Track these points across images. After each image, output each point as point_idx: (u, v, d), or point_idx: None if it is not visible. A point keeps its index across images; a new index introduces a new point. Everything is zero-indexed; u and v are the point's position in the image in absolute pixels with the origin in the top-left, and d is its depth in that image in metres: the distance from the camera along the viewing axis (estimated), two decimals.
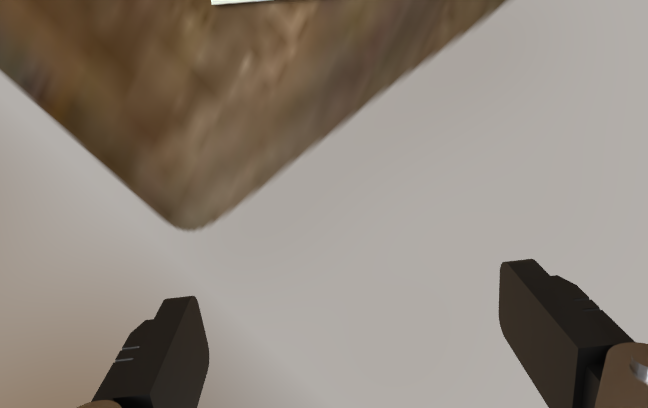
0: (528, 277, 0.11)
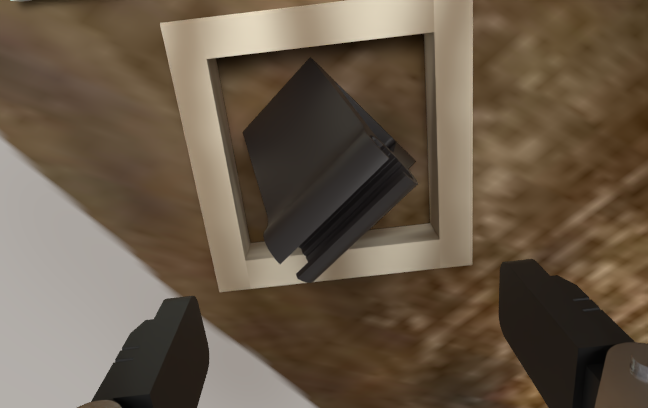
0: (528, 277, 0.11)
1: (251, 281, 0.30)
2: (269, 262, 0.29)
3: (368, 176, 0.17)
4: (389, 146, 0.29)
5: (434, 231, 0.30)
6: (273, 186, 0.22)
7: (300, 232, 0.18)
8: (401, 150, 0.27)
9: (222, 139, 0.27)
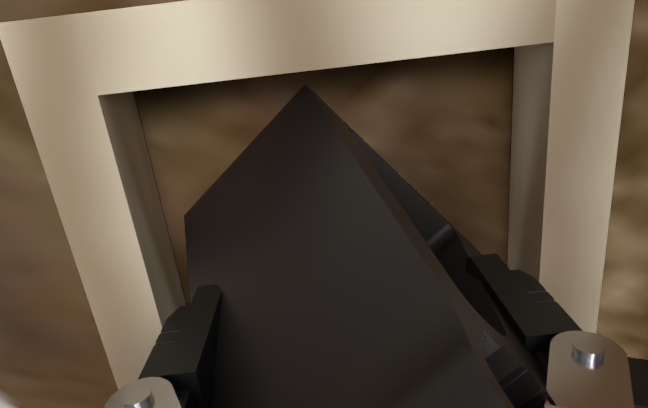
0: (489, 270, 0.11)
1: None
2: None
3: None
4: (444, 239, 0.16)
5: None
6: (220, 388, 0.10)
7: None
8: None
9: (140, 242, 0.14)
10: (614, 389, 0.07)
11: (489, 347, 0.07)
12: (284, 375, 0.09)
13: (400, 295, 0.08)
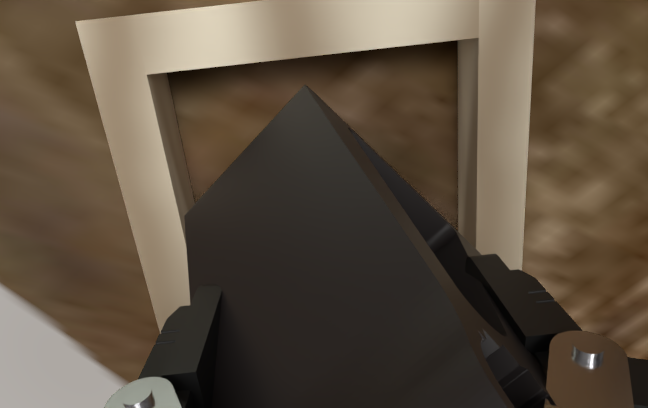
0: (489, 270, 0.11)
1: None
2: None
3: None
4: (444, 239, 0.16)
5: None
6: (221, 388, 0.10)
7: None
8: None
9: (173, 187, 0.19)
10: (614, 389, 0.07)
11: (489, 347, 0.07)
12: (284, 375, 0.09)
13: (400, 295, 0.08)
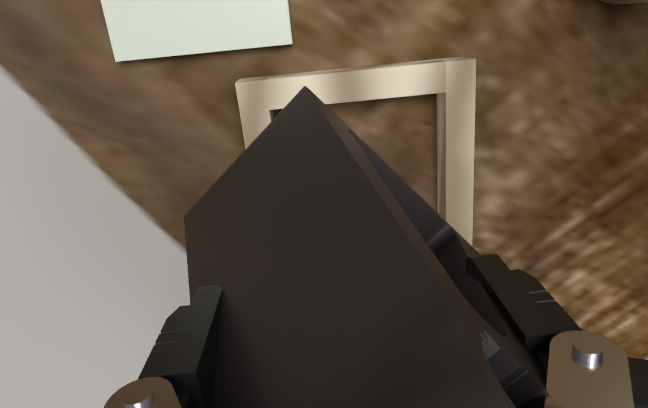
0: (489, 270, 0.11)
1: None
2: None
3: None
4: (443, 239, 0.16)
5: None
6: (222, 389, 0.10)
7: None
8: None
9: None
10: (614, 389, 0.07)
11: (490, 348, 0.07)
12: (285, 376, 0.09)
13: (401, 296, 0.08)
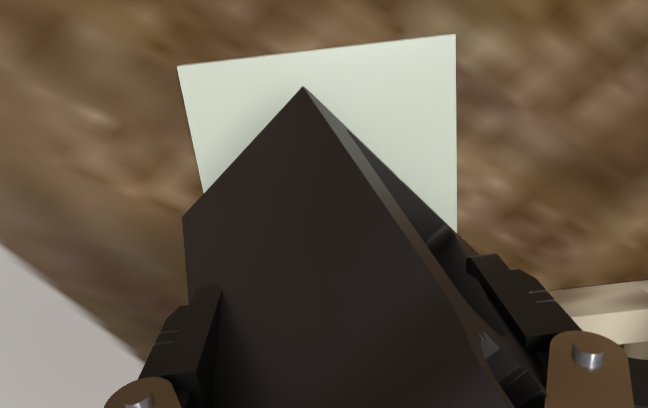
0: (489, 270, 0.11)
1: None
2: None
3: None
4: (442, 239, 0.16)
5: None
6: (220, 390, 0.10)
7: None
8: None
9: None
10: (614, 389, 0.07)
11: (489, 348, 0.07)
12: (284, 377, 0.09)
13: (400, 296, 0.08)
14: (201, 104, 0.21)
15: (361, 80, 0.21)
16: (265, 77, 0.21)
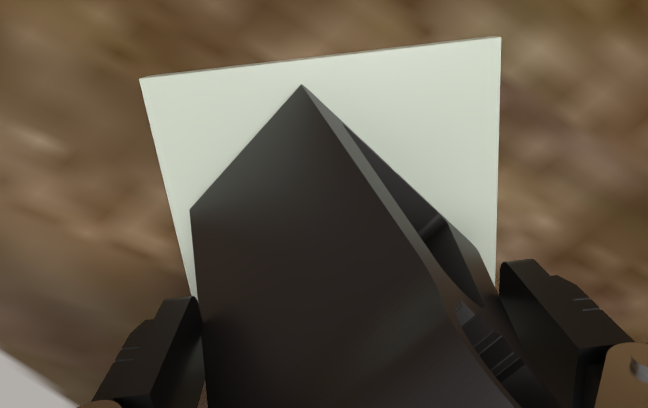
0: (528, 277, 0.11)
1: None
2: None
3: None
4: (435, 228, 0.17)
5: None
6: (227, 363, 0.11)
7: None
8: (464, 247, 0.15)
9: None
10: None
11: (466, 315, 0.08)
12: (284, 347, 0.10)
13: (387, 271, 0.09)
14: (172, 127, 0.16)
15: (378, 96, 0.16)
16: (254, 92, 0.16)
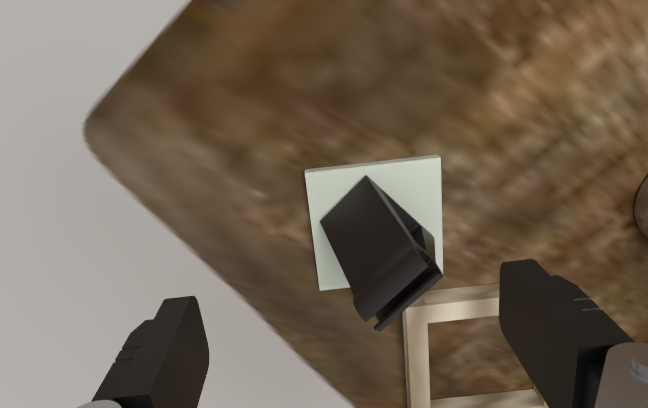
0: (528, 277, 0.11)
1: None
2: None
3: (417, 275, 0.32)
4: (417, 229, 0.43)
5: (538, 397, 0.51)
6: (351, 269, 0.37)
7: (377, 304, 0.33)
8: (426, 236, 0.41)
9: None
10: None
11: (419, 250, 0.34)
12: (371, 261, 0.36)
13: (400, 240, 0.35)
14: (315, 190, 0.42)
15: (394, 178, 0.42)
16: (347, 177, 0.42)
